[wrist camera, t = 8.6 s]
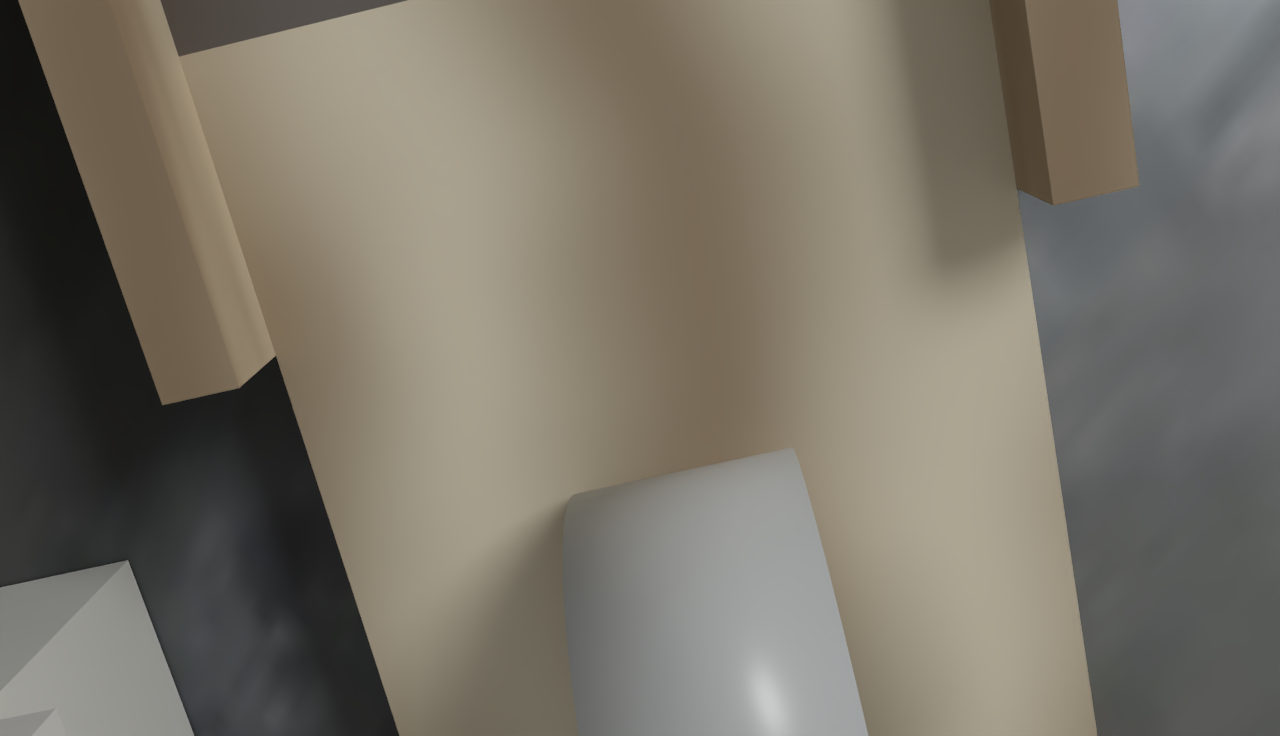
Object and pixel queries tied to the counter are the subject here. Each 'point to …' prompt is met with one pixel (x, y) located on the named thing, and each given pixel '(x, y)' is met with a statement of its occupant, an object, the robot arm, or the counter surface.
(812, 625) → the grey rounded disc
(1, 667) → the tee
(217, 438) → the counter surface
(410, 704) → the lane
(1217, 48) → the counter surface
